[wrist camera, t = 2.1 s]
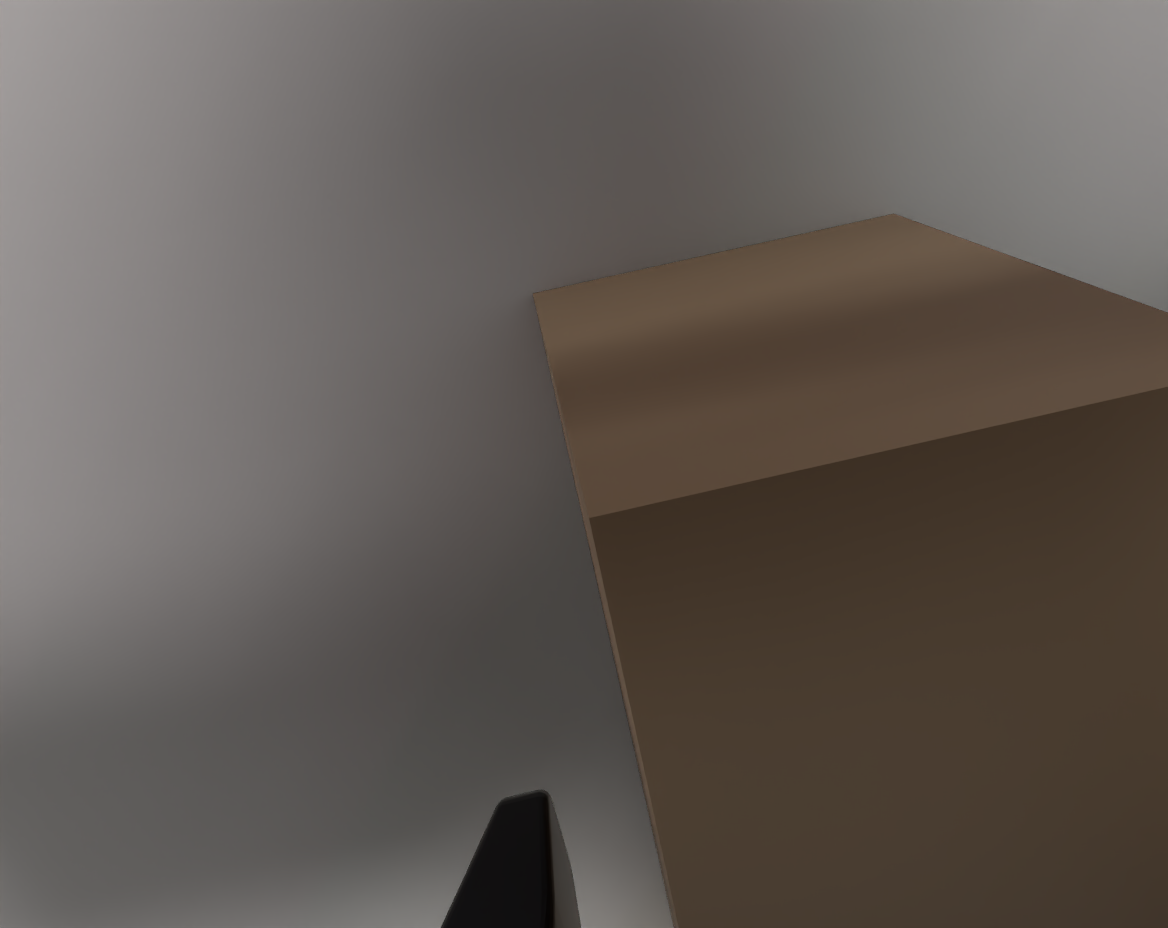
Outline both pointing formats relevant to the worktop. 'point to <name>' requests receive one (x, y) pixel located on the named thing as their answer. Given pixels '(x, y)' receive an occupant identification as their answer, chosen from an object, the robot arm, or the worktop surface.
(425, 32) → the worktop surface
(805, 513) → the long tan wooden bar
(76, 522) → the worktop surface
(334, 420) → the worktop surface
